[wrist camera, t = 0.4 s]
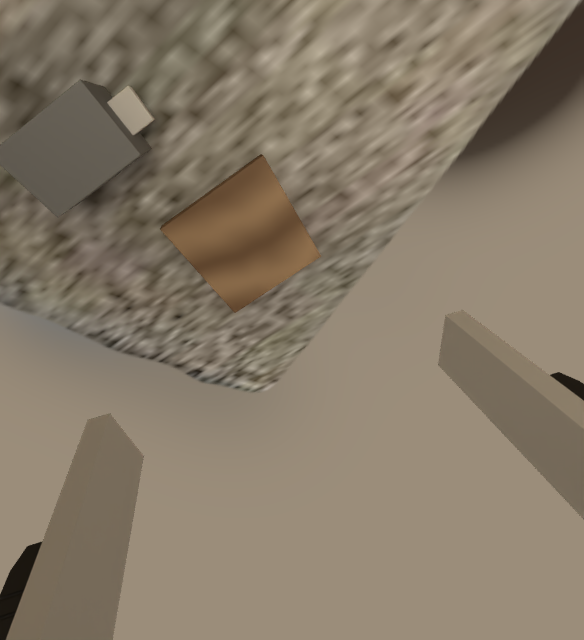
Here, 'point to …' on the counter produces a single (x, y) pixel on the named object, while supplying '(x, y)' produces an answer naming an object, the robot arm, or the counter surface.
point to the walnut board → (243, 235)
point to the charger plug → (77, 144)
